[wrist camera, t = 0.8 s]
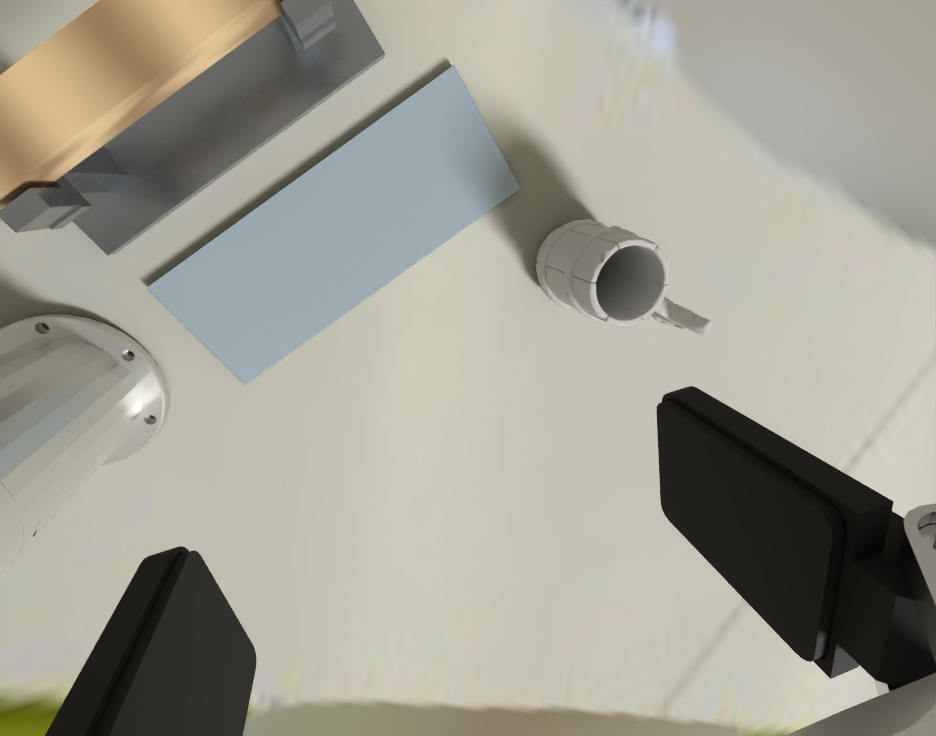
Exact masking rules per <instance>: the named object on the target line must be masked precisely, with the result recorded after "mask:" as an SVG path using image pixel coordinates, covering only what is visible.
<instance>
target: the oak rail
mask: <svg viewBox="0 0 936 736" xmlns="http://www.w3.org/2000/svg"><path fill="white" fill-rule="evenodd" d="M282 1H284V0H100V1H98V2H97V3H96V4H94V5H93V6H92V7H90V8H89V9H88V10H86V11H85V12H84V13H82V14H81V15H80V16H78V17H77V18H76V19H74V20H73V21H72V22H70V23H69V24H68V25H66V26H65V27H64V28H62V29H61V30H60V31H58V32H57V33H56V34H54V35H53V36H52V37H50V38H49V39H48V40H46V41H45V42H44V43H42V44H41V45H40V46H38V47H37V48H36V49H34V50H33V51H32V52H30V53H29V54H28V55H26V56H25V57H23V58H22V59H21V60H19V61H18V62H17V63H15V64H14V65H13V66H11V67H10V68H9V69H7V70H6V71H5V72H3V73H2V74H1V75H0V210H1V209H2V208H4V207H5V206H6V205H8V204H9V203H10V202H12V201H13V200H14V199H16V198H17V197H19V196H20V195H21V194H23V193H24V192H25V191H27V190H28V189H29V188H46V187H48V186H49V185H50V184H52V183H53V182H54V181H56V180H57V179H58V178H60V177H61V176H62V175H64V174H65V173H67V172H68V171H69V170H71V169H72V168H73V167H75V166H76V165H77V164H79V163H80V162H81V161H83V160H84V159H85V158H87V157H88V156H90V155H91V154H92V153H94V152H95V151H96V150H98V149H99V148H100V147H102V146H103V145H104V144H106V143H107V142H109V141H110V140H111V139H113V138H114V137H115V136H117V135H118V134H119V133H121V132H122V131H123V130H125V129H126V128H127V127H129V126H130V125H132V124H133V123H134V122H136V121H137V120H138V119H140V118H141V117H142V116H144V115H145V114H146V113H148V112H149V111H151V110H152V109H153V108H155V107H156V106H157V105H159V104H160V103H161V102H163V101H164V100H165V99H167V98H168V97H170V96H171V95H172V94H174V93H175V92H176V91H178V90H179V89H180V88H182V87H183V86H184V85H186V84H187V83H188V82H190V81H191V80H193V79H194V78H195V77H197V76H198V75H199V74H201V73H202V72H203V71H205V70H206V69H207V68H209V67H210V66H212V65H213V64H214V63H216V62H217V61H218V60H220V59H221V58H222V57H224V56H225V55H226V54H228V53H229V52H230V51H232V50H233V49H235V48H236V47H237V46H239V45H240V44H241V43H243V42H244V41H245V40H247V39H248V38H249V37H251V36H252V35H254V34H255V33H256V32H258V31H259V30H260V29H262V28H263V27H264V26H266V25H267V24H268V23H270V22H271V21H273V20H274V19H275V18H277V17H278V16H279V15H281V14H282V13H283V12H284V11H283V9H282V6H281V4H280V3H281V2H282ZM1 220H2V219H1V218H0V221H1Z"/></svg>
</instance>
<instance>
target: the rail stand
mask: <svg viewBox="0 0 936 736" xmlns="http://www.w3.org/2000/svg"><path fill="white" fill-rule="evenodd" d="M280 4H281V6H282V9H283V11H284V12H283V13H282V14H281V15H279V16H278V17H277V18H275V19H274V20H273V21H271V22H270V23H268V24H267V25H266V26H264V27H263V28H262V29H260V30H259V31H258V32H256V33H255V34H254V35H252V36H251V37H249V38H248V39H247V40H245V41H244V42H243V43H241V44H240V45H239V46H237V47H236V48H235V49H233V50H232V51H230V52H229V53H228V54H226V55H225V56H224V57H222V58H221V59H220V60H218V61H217V62H216V63H214V64H213V65H212V66H210V67H209V68H207V69H206V70H205V71H203V72H202V73H201V74H199V75H198V76H197V77H195V78H194V79H193V80H191V81H190V82H188V83H187V84H186V85H184V86H183V87H182V88H180V89H179V90H178V91H176V92H175V93H174V94H172V95H171V96H170V97H168V98H167V99H165V100H164V101H163V102H161V103H160V104H159V105H157V106H156V107H155V108H153V109H152V110H151V111H149V112H148V113H146V114H145V115H144V116H142V117H141V118H140V119H138V120H137V121H136V122H134V123H133V124H132V125H130V126H129V127H127V128H126V129H125V130H123V131H122V132H121V133H119V134H118V135H117V136H115V137H114V138H113V139H111V140H110V141H109V142H107V143H106V144H104V145H103V146H102V147H100V148H99V149H98V150H96V151H95V152H94V153H92V154H91V155H90V156H88V157H87V158H85V159H84V160H83V161H81V162H80V163H79V164H77V165H76V166H75V167H73V168H72V169H71V170H69V171H68V172H67V173H65V174H64V175H62V176H61V177H60V178H58V179H57V180H56V181H54V182H53V183H52V184H50V185H49V186H48V187H46V188H29V189H28V190H27V191H25V192H24V193H23V194H21V195H20V196H19V197H17V198H16V199H14V200H13V201H12V202H10V203H9V204H8V205H6V206H5V207H4V208H2V209H1V210H0V218H1V219H2V220H3V221H4V222H5V223H6V224H7V225H8V226H9V227H10V228H12V229H13V230H14V231H15V232H16V233H17V232H24V231H31V230H38V229H45V228H50V229H51V230H52V229H59V228H63V227H64V226H66V225H67V224H69V223H70V222H71V221H73V222H74V223H75V224H76V225H77V226H78V227H79V228H80V229H81V230H82V231H83V232H84V233H85V234H86V235H87V236H88V237H89V238H90V239H92V240H93V241H94V242H95V243H96V244H97V245H98V246H99V247H100V248H101V249H102V250H103V251H104V252H105V253H106V254H107V255H111V254H114V253H117V252H118V251H119V250H121V249H122V248H123V247H125V246H126V245H128V244H129V243H130V242H132V241H133V240H134V239H136V238H137V237H139V236H140V235H141V234H143V233H144V232H145V231H147V230H148V229H149V228H151V227H152V226H154V225H155V224H156V223H158V222H159V221H160V220H162V219H163V218H165V217H166V216H167V215H169V214H170V213H171V212H173V211H174V210H176V209H177V208H178V207H180V206H181V205H182V204H184V203H185V202H186V201H188V200H189V199H191V198H192V197H193V196H195V195H196V194H197V193H199V192H200V191H202V190H203V189H204V188H206V187H207V186H208V185H210V184H211V183H213V182H214V181H215V180H217V179H218V178H219V177H221V176H222V175H224V174H225V173H226V172H228V171H229V170H230V169H232V168H233V167H234V166H236V165H237V164H239V163H240V162H241V161H243V160H244V159H245V158H247V157H248V156H250V155H251V154H252V153H254V152H255V151H256V150H258V149H259V148H261V147H262V146H263V145H265V144H266V143H267V142H269V141H270V140H271V139H273V138H274V137H276V136H277V135H278V134H280V133H281V132H282V131H284V130H285V129H287V128H288V127H289V126H291V125H292V124H293V123H295V122H296V121H298V120H299V119H300V118H302V117H303V116H304V115H306V114H307V113H309V112H310V111H311V110H313V109H314V108H315V107H317V106H318V105H319V104H321V103H322V102H324V101H325V100H326V99H328V98H329V97H330V96H332V95H333V94H335V93H336V92H337V91H339V90H340V89H341V88H343V87H344V86H346V85H347V84H348V83H350V82H351V81H352V80H354V79H355V78H356V77H358V76H359V75H361V74H362V73H363V72H365V71H366V70H367V69H369V68H370V67H372V66H373V65H374V64H376V63H377V62H378V61H380V60H381V59H383V58H384V55H385V53H384V51H383V49H382V48H381V46H380V44H379V43H378V41H377V39H376V38H375V36H374V34H373V33H372V31H371V29H370V27H369V26H368V24H367V22H366V21H365V19H364V17H363V16H362V14H361V12H360V11H359V9H358V7H357V6H356V4H355V2H354V1H353V0H284V1H282V2H281V3H280Z"/></svg>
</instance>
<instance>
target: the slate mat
mask: <svg viewBox="0 0 936 736" xmlns="http://www.w3.org/2000/svg"><path fill="white" fill-rule="evenodd" d="M519 189H520V186H519V184H518V182H517V181H516V179H515V177H514V175H513V173H512V171H511V169H510V168H509V166H508V164H507V162H506V160H505V158H504V156H503V155H502V153H501V151H500V149H499V147H498V145H497V143H496V142H495V140H494V138H493V136H492V134H491V132H490V131H489V129H488V127H487V125H486V123H485V121H484V119H483V118H482V116H481V114H480V112H479V110H478V108H477V106H476V105H475V103H474V101H473V99H472V97H471V95H470V93H469V92H468V90H467V88H466V86H465V84H464V82H463V80H462V79H461V77H460V75H459V73H458V71H457V69H456V67H455V66H454V65H453V66H452V67H450V68H449V69H448V70H446V71H445V72H443V73H442V74H441V75H439V76H438V77H437V78H435V79H434V80H432V81H431V82H430V83H428V84H427V85H426V86H424V87H423V88H421V89H420V90H419V91H417V92H416V93H415V94H413V95H412V96H410V97H409V98H408V99H406V100H405V101H403V102H402V103H401V104H399V105H398V106H397V107H395V108H394V109H392V110H391V111H390V112H388V113H387V114H386V115H384V116H383V117H381V118H380V119H379V120H377V121H376V122H375V123H373V124H372V125H370V126H369V127H368V128H366V129H365V130H364V131H362V132H361V133H359V134H358V135H357V136H355V137H354V138H352V139H351V140H350V141H348V142H347V143H346V144H344V145H343V146H341V147H340V148H339V149H337V150H336V151H335V152H333V153H332V154H330V155H329V156H328V157H326V158H325V159H324V160H322V161H321V162H319V163H318V164H317V165H315V166H314V167H313V168H311V169H310V170H308V171H307V172H306V173H304V174H303V175H301V176H300V177H299V178H297V179H296V180H295V181H293V182H292V183H290V184H289V185H288V186H286V187H285V188H284V189H282V190H281V191H279V192H278V193H277V194H275V195H274V196H273V197H271V198H270V199H268V200H267V201H266V202H264V203H263V204H261V205H260V206H259V207H257V208H256V209H255V210H253V211H252V212H250V213H249V214H248V215H246V216H245V217H244V218H242V219H241V220H239V221H238V222H237V223H235V224H234V225H233V226H231V227H230V228H228V229H227V230H226V231H224V232H223V233H222V234H220V235H219V236H217V237H216V238H215V239H213V240H212V241H210V242H209V243H208V244H206V245H205V246H204V247H202V248H201V249H199V250H198V251H197V252H195V253H194V254H193V255H191V256H190V257H188V258H187V259H186V260H184V261H183V262H182V263H180V264H179V265H177V266H176V267H175V268H173V269H172V270H171V271H169V272H168V273H166V274H165V275H164V276H162V277H161V278H159V279H158V280H157V281H155V282H154V283H153V284H151V285H150V286H148V287H147V289H148V290H149V291H150V292H151V293H152V294H153V295H154V296H155V297H156V298H157V299H158V300H159V301H160V302H161V303H162V304H163V305H164V306H165V307H166V308H167V309H168V310H169V311H170V312H171V313H172V314H173V315H174V316H175V317H176V318H177V319H178V320H179V321H180V322H181V323H182V324H183V325H184V326H185V327H186V328H187V329H188V330H189V331H190V332H191V333H192V334H193V335H194V336H195V337H196V338H197V339H198V340H199V341H200V342H201V343H203V344H204V345H205V346H206V347H207V348H208V349H209V350H210V351H211V352H212V353H213V354H214V355H215V356H216V357H217V358H218V359H219V360H220V361H221V362H222V363H223V364H224V365H225V366H226V367H227V368H228V369H229V370H230V371H231V372H232V373H233V374H234V375H235V376H236V377H237V378H238V379H239V380H240V381H241V382H242V383H243V384H244V385H246V384H247V383H249V382H250V381H251V380H253V379H254V378H256V377H257V376H258V375H260V374H261V373H263V372H264V371H265V370H267V369H268V368H270V367H271V366H272V365H274V364H275V363H277V362H278V361H279V360H281V359H282V358H284V357H285V356H286V355H288V354H289V353H291V352H292V351H293V350H295V349H296V348H298V347H299V346H300V345H302V344H303V343H305V342H306V341H307V340H309V339H310V338H312V337H313V336H314V335H316V334H317V333H319V332H320V331H321V330H323V329H324V328H326V327H327V326H328V325H330V324H331V323H333V322H334V321H335V320H337V319H338V318H340V317H341V316H342V315H344V314H345V313H347V312H348V311H349V310H351V309H352V308H354V307H355V306H356V305H358V304H359V303H361V302H362V301H363V300H365V299H366V298H368V297H369V296H370V295H372V294H373V293H375V292H376V291H378V290H379V289H380V288H382V287H383V286H385V285H386V284H387V283H389V282H390V281H392V280H393V279H394V278H396V277H397V276H399V275H400V274H401V273H403V272H404V271H406V270H407V269H408V268H410V267H411V266H413V265H414V264H415V263H417V262H418V261H420V260H421V259H422V258H424V257H425V256H427V255H428V254H429V253H431V252H432V251H434V250H435V249H436V248H438V247H439V246H441V245H442V244H443V243H445V242H446V241H448V240H449V239H450V238H452V237H453V236H455V235H456V234H457V233H459V232H460V231H462V230H463V229H464V228H466V227H467V226H469V225H470V224H471V223H473V222H474V221H476V220H477V219H478V218H480V217H481V216H483V215H484V214H485V213H487V212H488V211H490V210H491V209H492V208H494V207H495V206H497V205H498V204H499V203H501V202H502V201H504V200H505V199H506V198H508V197H509V196H511V195H512V194H513V193H515V192H516V191H518V190H519Z"/></svg>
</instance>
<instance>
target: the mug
mask: <svg viewBox="0 0 936 736" xmlns="http://www.w3.org/2000/svg"><path fill="white" fill-rule="evenodd" d="M536 261H537V263H536V272H537V277H538V281H539V283H540V286H541V288H542V290H543V291H544V293H545V294H546V295H547V296H548V297H549V298H550V299H551V300H552V301H553V302H554V303H556V304H558V305H560V306H562V307H565V308H568V309H572V310H577V311H578V312H579V313H581V314H582V315H584V316H586V317H588V318H590V319H593V320H597V321H600V322H603V321H604V322H606V323H609V324H612V325H616V326H628V325H633V324H636V323H638V322H640V321H641V319H642V320H644V319H645V318H647V317H650V318H654V319H655V320H657V321H659V322H661V323H663V324H668V325H670V326H673V327H678V328H681V329H688V330H691V331H693V332H695V333H697V334H700V335H705V334H706V333H707V331H708V330H709V328H710V326H711V324H712V322H711V321H710V320H708V319H705V318H702V317H700V316H698V315H697V314H695V313H694V312H692V311H690V310H688V309H686V308H684V307H681V306H679V305H677V304H674V303H673V302H672V301H670V300H669V299H667V298H666V297H665V295H666V292H667V289H668V284H669V282H670V280H669V278H670V271H669V263H668V259H667V257H666V255H665V253H664V252H663V250H662V249H661V248H660V247H659V246H658V245H657V244H656V243H654V242H652V241H650V240H647V239H644V238H641V237H639V236H637V235H636V234H634V233H633V232H631V231H628V230H625V229H621V228H620V227H618V226H612V227H609V228H608V227H607V226H605V225H604V224H602V223H599V222H596V221H593V220H591V219H585V220H575V221H571V222H569V223H566V224H564V225H562V226H561V227H559V228H556V229H555V230H553V231H552V232H551V233H550V234H549V235H548V236H547V238H546V239H545V240H544V241H543V243H542V244H541V246H540V249H539V251H538V254H537V258H536ZM600 270H601V271H600ZM599 272H600V274H599ZM598 274H599V276H598ZM597 277H598V278H597Z"/></svg>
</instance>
